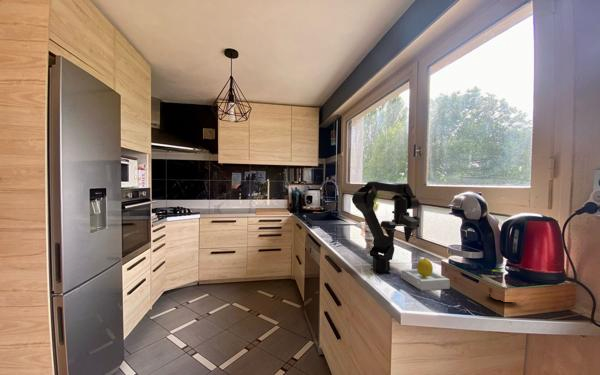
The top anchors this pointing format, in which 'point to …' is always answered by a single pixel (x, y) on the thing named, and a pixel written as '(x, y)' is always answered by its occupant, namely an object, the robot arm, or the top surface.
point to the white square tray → (425, 280)
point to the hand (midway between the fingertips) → (399, 242)
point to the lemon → (424, 268)
